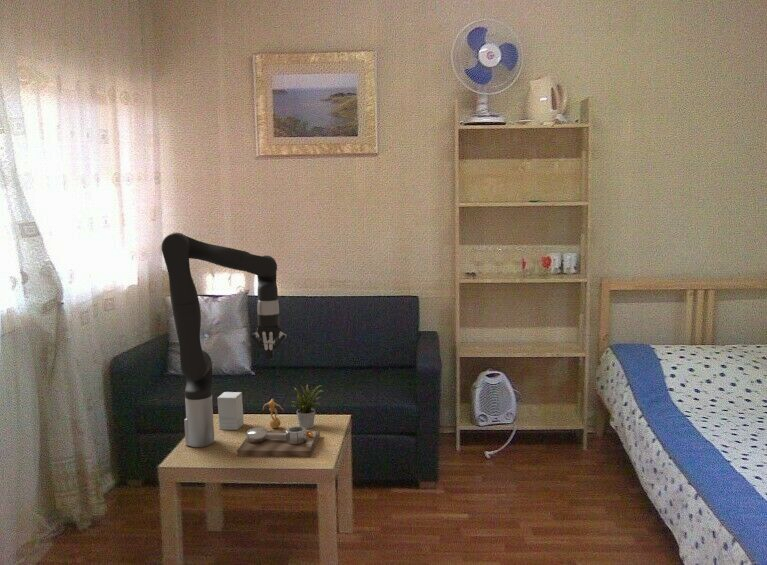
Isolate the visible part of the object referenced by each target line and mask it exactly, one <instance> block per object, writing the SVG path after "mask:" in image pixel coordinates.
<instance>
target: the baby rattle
mask: <svg viewBox="0 0 767 565" xmlns="http://www.w3.org/2000/svg"><path fill="white" fill-rule="evenodd" d="M267 431H268V429H267V428H264V427H253V428H250V429H248V430H246V438H247V441H248V442H250V443H261V442H264V441H266V440H267V439H286V442H288V443H289V444H300V443H303V442H305V441H306V436H309V437H313V433H312V432H310V433H309V434H306V431H307V429H306V428H304V427H301V426H299V425H295V426H294V425H293V426H290V427H289V426H288V427H287V428H286V429H285V431H286V433H268V432H267Z"/></svg>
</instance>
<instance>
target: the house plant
mask: <svg viewBox="0 0 767 565" xmlns="http://www.w3.org/2000/svg"><path fill="white" fill-rule="evenodd" d="M299 385H300V387H301V388H302V390H303V395H302V393H301V391H300V390H299V389H298V388H296V387H294V386H293V389H294V390H295V392H296V394H297V396H295V397H296V400H297V401H298V402H297V401H294V400H290V402H292V403H293V404H292V405H291V407H295V408H297V410H296V415H297V421H298V426H301V427H304V428H306V430H310V429H312V427H313V428H314V424H315V418H316V417H315V416H316V409H315V407H316V408H319V407H318V405H319V406H320V405H321V404H320V402H319V401H318V399H319V398H320V396H317V395H318V394H319V393H320V392H321V393H322V392H323V389H320V390H318V389H319V387H322V386H323V385H318V386H315V388H313V389H312V390H310V388H309V387H308V384H306V385H305V388H304V386H302V385H301V384H299ZM317 390H318V391H317ZM316 391H317V392H316ZM315 392H316V393H315ZM314 393H315V394H314ZM316 401H317V402H316ZM313 407H314V408H313ZM309 428H310V429H309Z"/></svg>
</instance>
